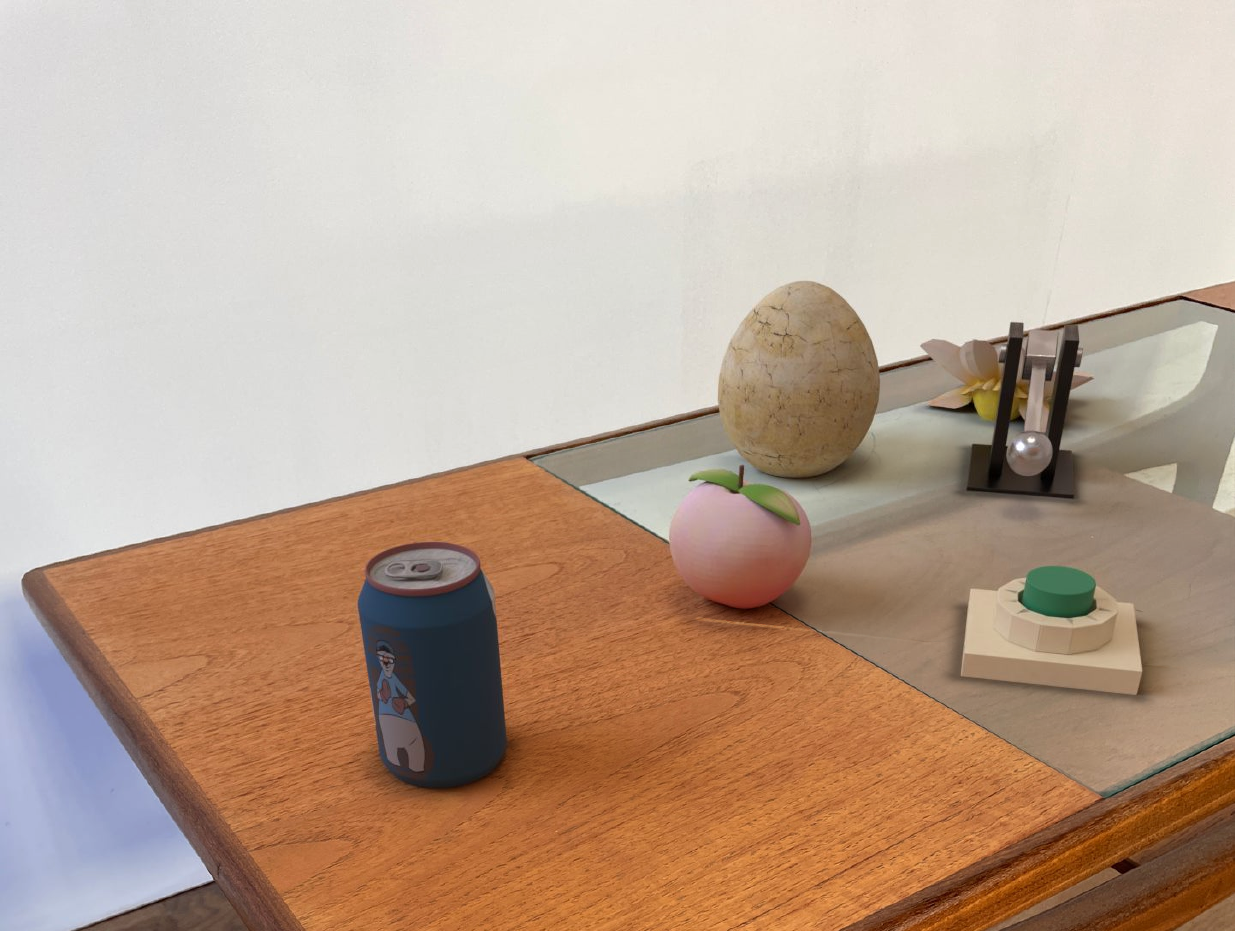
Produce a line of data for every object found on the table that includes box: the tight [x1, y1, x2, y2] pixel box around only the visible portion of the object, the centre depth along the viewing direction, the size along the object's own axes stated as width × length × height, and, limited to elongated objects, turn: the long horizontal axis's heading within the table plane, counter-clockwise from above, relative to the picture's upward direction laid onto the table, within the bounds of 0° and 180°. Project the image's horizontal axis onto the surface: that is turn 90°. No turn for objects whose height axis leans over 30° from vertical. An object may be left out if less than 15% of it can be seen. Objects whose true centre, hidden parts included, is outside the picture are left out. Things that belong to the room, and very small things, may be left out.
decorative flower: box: [919, 338, 1095, 433], centre depth 113 cm, size 15×11×10 cm
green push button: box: [1022, 565, 1097, 618], centre depth 77 cm, size 4×4×2 cm
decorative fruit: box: [668, 464, 812, 610], centre depth 82 cm, size 9×8×10 cm
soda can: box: [357, 541, 508, 789], centre depth 67 cm, size 7×7×12 cm
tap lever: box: [1006, 329, 1060, 476], centre depth 95 cm, size 13×3×3 cm, turn 165°
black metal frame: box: [966, 321, 1084, 500], centre depth 100 cm, size 10×8×12 cm
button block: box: [960, 577, 1143, 696], centre depth 78 cm, size 10×9×4 cm
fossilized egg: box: [717, 280, 881, 479], centre depth 101 cm, size 13×13×15 cm
